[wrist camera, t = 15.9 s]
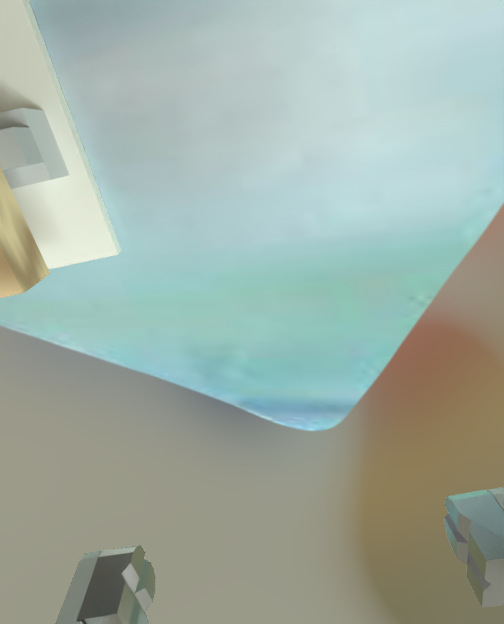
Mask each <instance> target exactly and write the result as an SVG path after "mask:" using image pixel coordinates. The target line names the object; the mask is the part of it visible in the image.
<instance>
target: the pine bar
mask: <svg viewBox="0 0 504 624" xmlns="http://www.w3.org/2000/svg"><path fill="white" fill-rule="evenodd" d="M49 274H50V272H49V270H48V268H47V266H46V264H45V261H44V259H43V257H42V255H41V253H40V251H39V248H38V246H37V244H36V242H35V240H34V238H33V236H32V233H31V231H30V229H29V227H28V225H27V223H26V221H25V218H24V216H23V214H22V212H21V210H20V208H19V206H18V203H17V201H16V199H15V197H14V195H13V193H12V191H11V188H10V186H9V184H8V182H7V180H6V178H5V175H4V173H3V171H2V169H1V167H0V298H2V297H7V296H12V295H17V294H21V293H24V292H26V291H27V290H28V289H30V288H31V287H33V286H34V285H35V284H37V283H38V282H39V281H41V280H42V279H44V278H45V277H46V276H48V275H49Z"/></svg>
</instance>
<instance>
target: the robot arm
mask: <svg viewBox="0 0 504 624" xmlns="http://www.w3.org/2000/svg"><path fill="white" fill-rule="evenodd" d="M445 507H446V509H447V510H448V514H447V515H446V517H445V528H446V531H447V536H448V539H449V542H450V544H451V547H452V549H453V551H454V553H455V555H456V557H457V558H458V559H459V560H461V561H462V562H463V563H465V564H466V565H467V579H468V581H469V583H470V585H471V587H472V589H473V591H474V593H475V595H476V597H477V598H478V601H479V602H480V604H481V606H482V607H489V606H498V605H504V487H502V488H497V489H491V490H481V491H475V492H470V493H464V494H458V495H453V496H447V497H446V499H445ZM144 556H145V551H144V549H143V548H142V546H141V545H138V546H132V547H125V548H118V549H111V550H103V551H96V552H90V553H85V554H84V556H83V557H82V558H81V560H80V562H79V564H78V567H77V569H76V572H75V575H74V577H73V580H72V582H71V585H70V587H69V590H68V593H67V595H66V598H65V600H64V603H63V605H62V608H61V611H60V613H59V616H58V618H57V621H56V623H55V624H149V620H148V618H147V615H146V613H145V612H146V611H147V610H148V608H149V607H150V605H151V604H152V603H153V599H154V594H155V573H154V568H153V567H152V564H151V562H149V561H147V560H145V559H144Z"/></svg>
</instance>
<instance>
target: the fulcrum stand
mask: <svg viewBox="0 0 504 624" xmlns="http://www.w3.org/2000/svg"><path fill="white" fill-rule="evenodd" d="M0 167H1V169H2V171H3V173H4V175H5V178H6V180H7V182H8V184H9V186H10V188H11V191H12V193H13V195H14V197H15V199H16V201H17V203H18V206H19V208H20V210H21V212H22V214H23V216H24V218H25V221H26V223H27V225H28V227H29V229H30V231H31V233H32V236H33V238H34V240H35V242H36V244H37V246H38V248H39V251H40V253H41V255H42V257H43V259H44V261H45V264H46V266H47V268H48V269H53V268H57V267H62V266H67V265H71V264H76V263H81V262H85V261H90V260H95V259H100V258H104V257H109V256H114V255H118V254H119V253H120V252H121V248H120V246H119V243H118V240H117V238H116V235H115V232H114V229H113V227H112V224H111V221H110V219H109V216H108V213H107V211H106V208H105V205H104V202H103V200H102V197H101V194H100V192H99V189H98V186H97V183H96V181H95V178H94V175H93V173H92V170H91V167H90V165H89V162H88V159H87V156H86V154H85V151H84V148H83V146H82V143H81V140H80V138H79V135H78V132H77V129H76V127H75V124H74V121H73V119H72V116H71V113H70V110H69V108H68V105H67V102H66V100H65V97H64V94H63V92H62V89H61V86H60V83H59V81H58V78H57V75H56V73H55V70H54V67H53V65H52V62H51V59H50V56H49V54H48V51H47V48H46V46H45V43H44V40H43V37H42V35H41V32H40V29H39V27H38V24H37V21H36V19H35V16H34V13H33V10H32V8H31V5H30V2H29V0H0Z"/></svg>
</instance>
